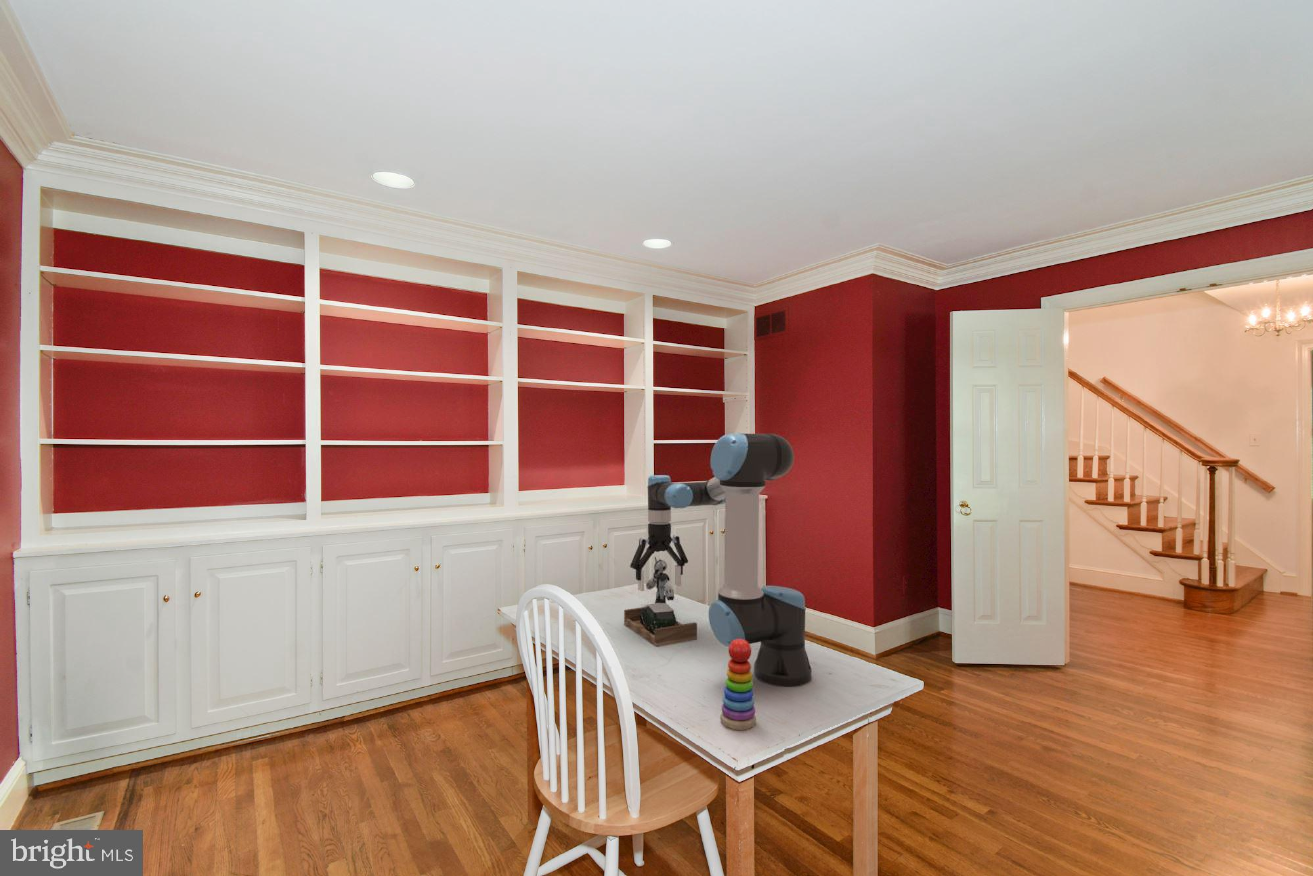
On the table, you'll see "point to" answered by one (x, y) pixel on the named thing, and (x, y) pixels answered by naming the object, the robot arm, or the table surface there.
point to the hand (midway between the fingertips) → (659, 587)
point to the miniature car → (657, 616)
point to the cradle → (660, 630)
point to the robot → (661, 583)
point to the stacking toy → (738, 688)
